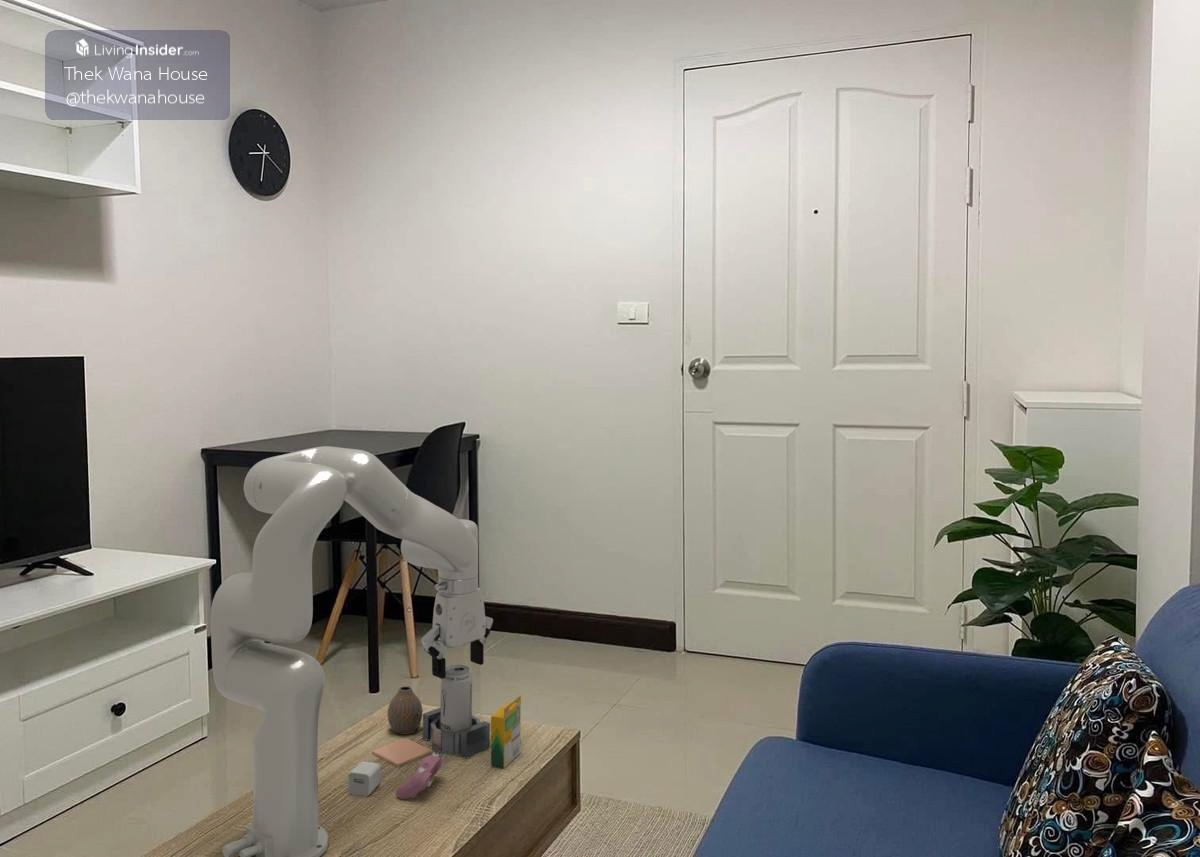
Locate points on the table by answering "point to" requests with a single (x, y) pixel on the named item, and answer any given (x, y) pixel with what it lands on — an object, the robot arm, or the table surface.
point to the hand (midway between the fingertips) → (458, 669)
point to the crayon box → (506, 734)
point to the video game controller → (421, 776)
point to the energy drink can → (456, 699)
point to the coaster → (401, 752)
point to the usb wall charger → (364, 778)
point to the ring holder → (456, 736)
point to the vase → (405, 711)
